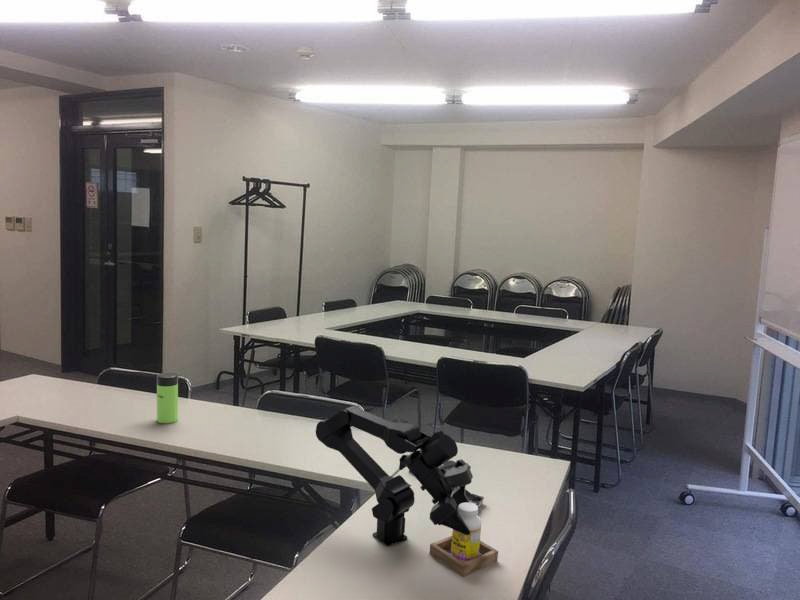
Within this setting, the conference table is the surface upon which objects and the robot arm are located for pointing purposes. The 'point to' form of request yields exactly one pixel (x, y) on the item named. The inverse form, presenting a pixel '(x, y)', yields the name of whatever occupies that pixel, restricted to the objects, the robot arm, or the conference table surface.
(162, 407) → the tumbler
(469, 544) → the supplement bottle
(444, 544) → the brown wooden square frame
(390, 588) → the conference table surface
